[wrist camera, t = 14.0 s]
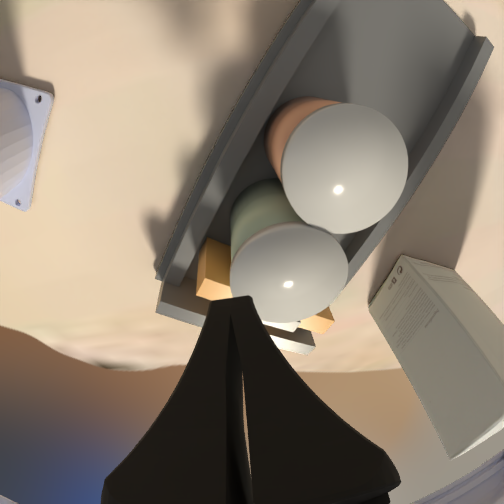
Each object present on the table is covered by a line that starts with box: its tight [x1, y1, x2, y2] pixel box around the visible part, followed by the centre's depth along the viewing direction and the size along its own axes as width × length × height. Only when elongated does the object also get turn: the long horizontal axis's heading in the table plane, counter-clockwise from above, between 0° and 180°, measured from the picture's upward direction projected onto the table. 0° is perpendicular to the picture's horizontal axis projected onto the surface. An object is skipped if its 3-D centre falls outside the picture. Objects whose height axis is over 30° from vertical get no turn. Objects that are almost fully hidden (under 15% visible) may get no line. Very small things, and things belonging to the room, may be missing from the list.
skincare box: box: [368, 255, 504, 460], centre depth 17 cm, size 8×6×15 cm
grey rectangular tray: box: [155, 0, 494, 355], centre depth 15 cm, size 12×26×4 cm, turn 152°
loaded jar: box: [230, 178, 348, 323], centre depth 15 cm, size 5×5×6 cm
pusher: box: [196, 237, 335, 334], centre depth 17 cm, size 8×1×5 cm, turn 62°
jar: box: [263, 96, 408, 234], centre depth 13 cm, size 5×5×6 cm
